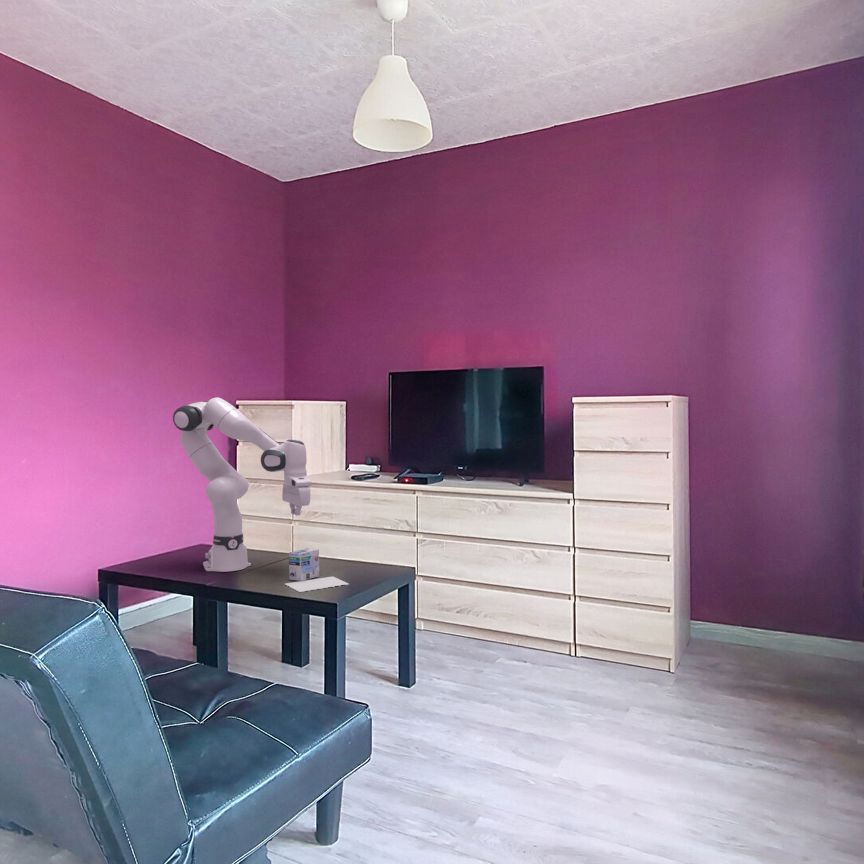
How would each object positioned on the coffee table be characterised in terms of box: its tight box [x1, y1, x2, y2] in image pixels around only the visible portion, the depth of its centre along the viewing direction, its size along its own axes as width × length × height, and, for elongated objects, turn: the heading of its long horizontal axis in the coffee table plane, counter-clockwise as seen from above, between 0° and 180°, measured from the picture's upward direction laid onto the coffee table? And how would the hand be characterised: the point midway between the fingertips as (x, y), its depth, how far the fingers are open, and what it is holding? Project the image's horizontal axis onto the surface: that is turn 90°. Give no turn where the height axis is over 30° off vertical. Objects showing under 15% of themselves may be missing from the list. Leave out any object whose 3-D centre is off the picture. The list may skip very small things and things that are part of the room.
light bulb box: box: [288, 547, 320, 582], centre depth 260 cm, size 11×7×11 cm, turn 149°
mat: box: [284, 576, 350, 594], centre depth 250 cm, size 14×20×1 cm
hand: (295, 514), depth 266 cm, fingers open, 3 cm apart
